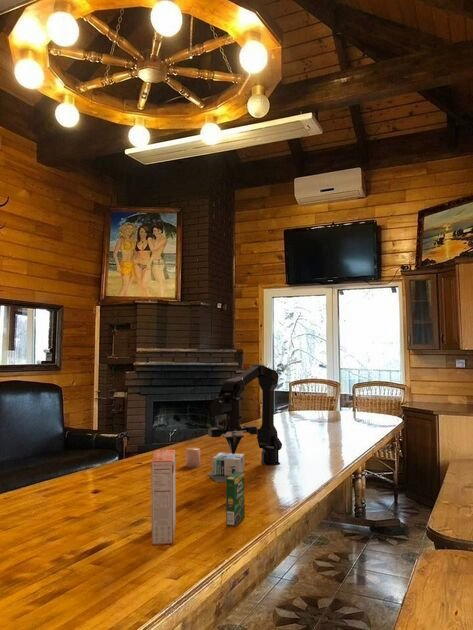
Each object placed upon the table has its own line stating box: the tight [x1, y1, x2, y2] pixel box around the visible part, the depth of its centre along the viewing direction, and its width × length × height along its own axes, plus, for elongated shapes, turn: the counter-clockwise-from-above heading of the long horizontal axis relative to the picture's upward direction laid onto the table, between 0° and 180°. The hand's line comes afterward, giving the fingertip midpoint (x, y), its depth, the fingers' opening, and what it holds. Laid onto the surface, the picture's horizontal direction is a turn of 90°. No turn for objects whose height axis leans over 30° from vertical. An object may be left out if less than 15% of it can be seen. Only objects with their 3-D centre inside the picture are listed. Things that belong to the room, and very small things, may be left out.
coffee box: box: [225, 471, 246, 528], centre depth 138 cm, size 8×3×13 cm, turn 159°
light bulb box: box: [211, 452, 246, 476], centre depth 192 cm, size 11×7×11 cm
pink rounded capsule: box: [185, 447, 201, 469], centre depth 205 cm, size 6×6×7 cm
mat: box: [206, 472, 246, 484], centre depth 186 cm, size 11×13×1 cm
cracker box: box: [150, 449, 177, 546], centre depth 130 cm, size 14×6×21 cm, turn 5°
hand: (233, 453), depth 188 cm, fingers closed
